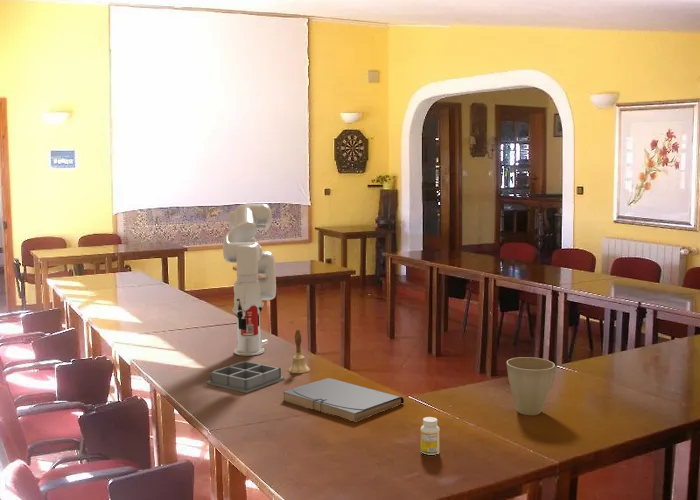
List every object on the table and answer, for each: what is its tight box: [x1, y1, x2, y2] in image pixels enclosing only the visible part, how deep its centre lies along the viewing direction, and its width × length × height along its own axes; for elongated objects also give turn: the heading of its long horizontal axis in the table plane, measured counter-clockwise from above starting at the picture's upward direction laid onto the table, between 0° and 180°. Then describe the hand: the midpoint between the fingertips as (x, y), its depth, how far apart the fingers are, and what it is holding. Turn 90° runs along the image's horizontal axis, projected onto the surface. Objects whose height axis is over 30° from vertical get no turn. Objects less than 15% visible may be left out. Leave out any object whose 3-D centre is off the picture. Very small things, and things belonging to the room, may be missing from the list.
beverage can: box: [241, 305, 258, 338], centre depth 280 cm, size 6×6×12 cm
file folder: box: [282, 377, 405, 423], centre depth 257 cm, size 33×4×24 cm
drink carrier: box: [206, 360, 285, 394], centre depth 282 cm, size 20×20×4 cm
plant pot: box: [506, 356, 556, 416], centre depth 245 cm, size 15×15×16 cm
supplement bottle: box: [419, 416, 441, 456], centre depth 213 cm, size 5×5×10 cm
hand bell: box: [287, 329, 311, 374], centre depth 295 cm, size 8×8×16 cm
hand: (249, 327), depth 280 cm, fingers closed on beverage can, 6 cm apart
